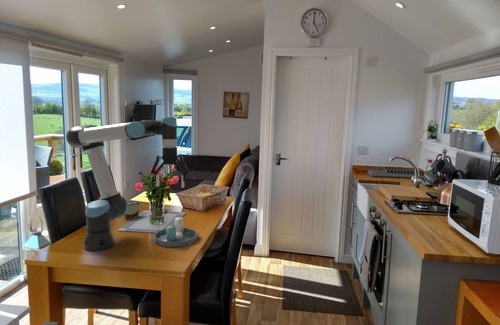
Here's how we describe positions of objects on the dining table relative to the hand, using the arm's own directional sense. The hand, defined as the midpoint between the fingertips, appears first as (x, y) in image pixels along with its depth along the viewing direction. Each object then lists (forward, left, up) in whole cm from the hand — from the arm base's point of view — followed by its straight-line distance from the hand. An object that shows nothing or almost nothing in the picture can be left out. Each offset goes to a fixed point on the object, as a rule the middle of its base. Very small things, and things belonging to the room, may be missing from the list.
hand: (170, 186), depth 200 cm
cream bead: (+15, 0, -31) cm, 34 cm away
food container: (+42, +42, -32) cm, 68 cm away
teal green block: (0, 0, -31) cm, 31 cm away
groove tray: (+8, 0, -32) cm, 33 cm away
